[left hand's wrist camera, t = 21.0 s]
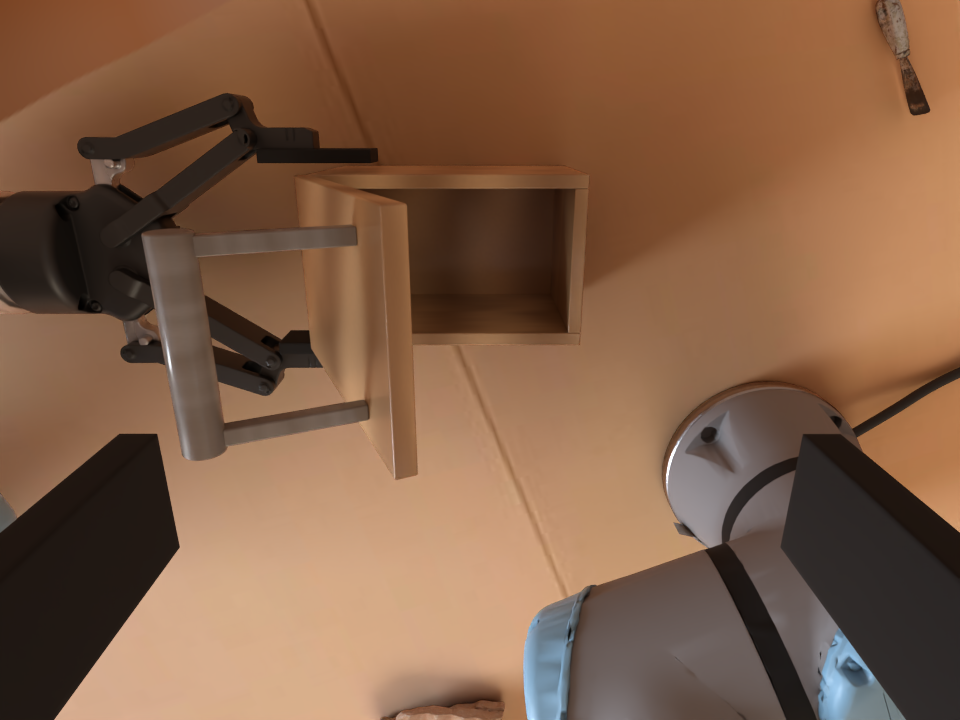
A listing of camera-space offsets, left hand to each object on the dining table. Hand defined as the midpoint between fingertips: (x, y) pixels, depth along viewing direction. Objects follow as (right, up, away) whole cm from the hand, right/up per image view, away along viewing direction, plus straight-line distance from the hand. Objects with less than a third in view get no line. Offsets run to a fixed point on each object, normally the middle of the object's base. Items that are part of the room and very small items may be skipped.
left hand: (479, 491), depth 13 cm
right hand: (-6, +9, +26) cm, 28 cm away
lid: (-6, +6, +15) cm, 17 cm away
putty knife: (+28, +23, +28) cm, 46 cm away
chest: (-2, +12, +32) cm, 34 cm away
